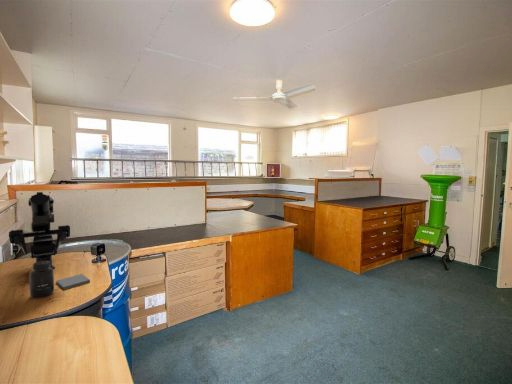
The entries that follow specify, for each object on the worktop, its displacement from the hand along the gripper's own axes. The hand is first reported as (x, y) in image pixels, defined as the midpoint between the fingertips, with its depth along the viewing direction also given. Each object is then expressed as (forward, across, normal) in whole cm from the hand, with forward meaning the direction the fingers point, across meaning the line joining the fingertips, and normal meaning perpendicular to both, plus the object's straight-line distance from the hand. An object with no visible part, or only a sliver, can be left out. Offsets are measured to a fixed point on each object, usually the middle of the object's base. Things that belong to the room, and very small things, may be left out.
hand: (41, 252), depth 100 cm
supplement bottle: (+16, 0, +4) cm, 16 cm away
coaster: (+12, +9, +8) cm, 17 cm away
